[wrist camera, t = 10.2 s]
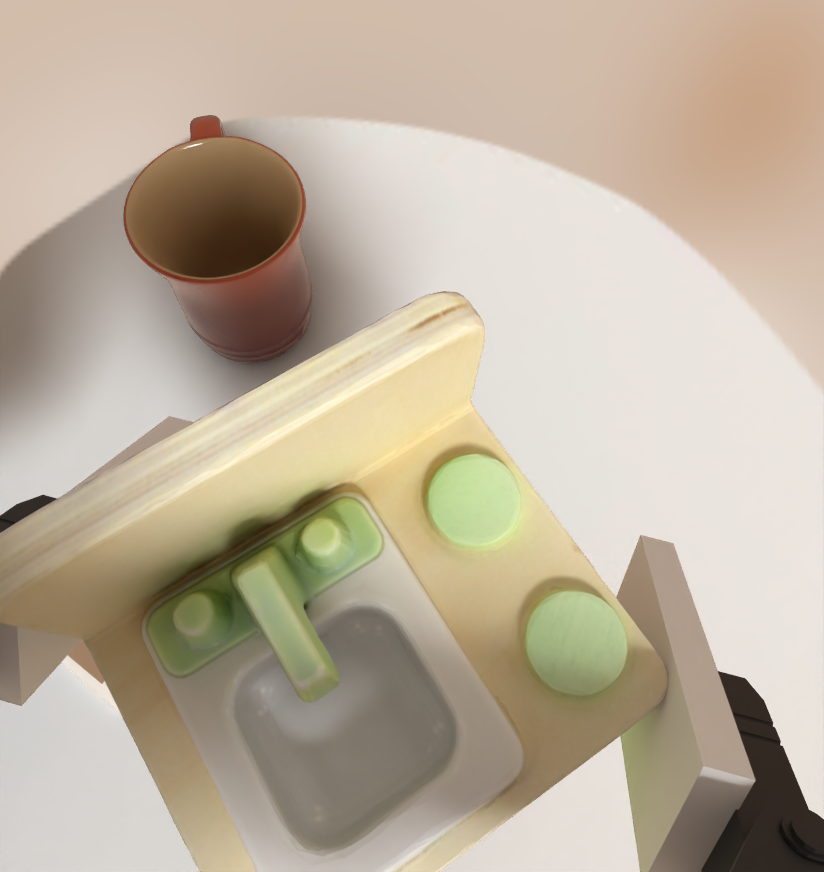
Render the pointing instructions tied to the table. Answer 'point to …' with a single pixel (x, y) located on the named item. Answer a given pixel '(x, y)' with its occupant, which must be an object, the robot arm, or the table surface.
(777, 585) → the table surface
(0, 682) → the robot arm
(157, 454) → the toy sink
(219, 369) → the table surface
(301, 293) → the mug
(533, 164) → the table surface
